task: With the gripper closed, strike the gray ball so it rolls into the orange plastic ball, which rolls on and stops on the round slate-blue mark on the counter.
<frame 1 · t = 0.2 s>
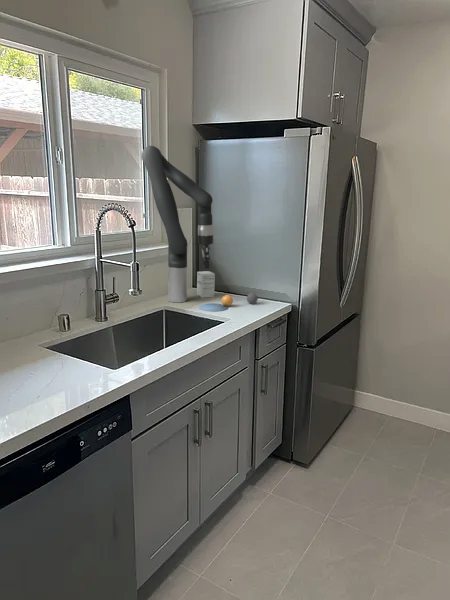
hand: (206, 266, 230), 17 cm above the worktop, tool pointing down, fingers open, 8 cm apart
gray ball: (252, 298, 230), on the worktop
orange ball: (227, 300, 224), on the worktop
blue mark: (213, 307, 221), on the worktop
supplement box: (205, 296, 244), on the worktop
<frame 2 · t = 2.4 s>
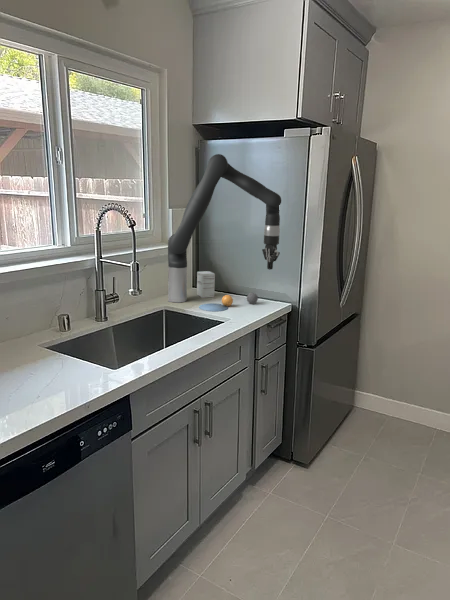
hand: (269, 269, 231), 17 cm above the worktop, tool pointing down, fingers closed
nothing on the worktop moved.
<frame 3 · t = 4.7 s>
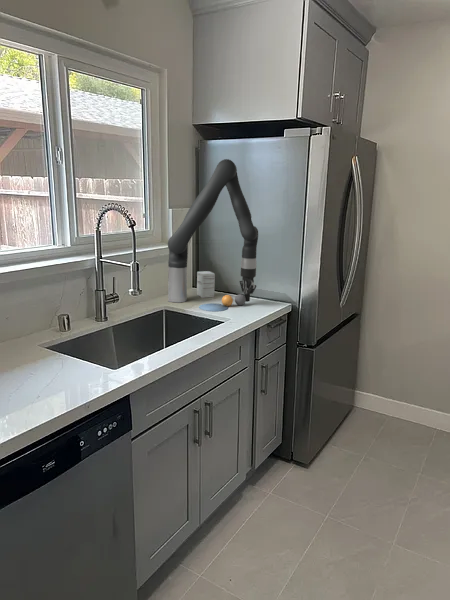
hand: (246, 301, 229), 1 cm above the worktop, tool pointing down, fingers closed
gray ball: (240, 299, 226), on the worktop
everything else where it was.
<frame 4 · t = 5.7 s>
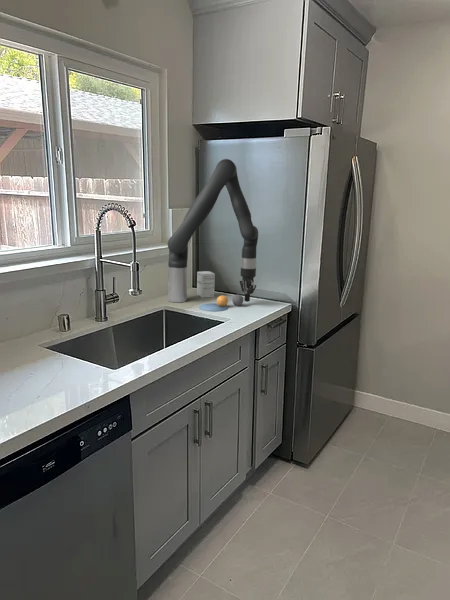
hand: (246, 301, 229), 2 cm above the worktop, tool pointing down, fingers closed
gray ball: (237, 300, 225), on the worktop
orange ball: (222, 301, 223), on the worktop
everything else where it was.
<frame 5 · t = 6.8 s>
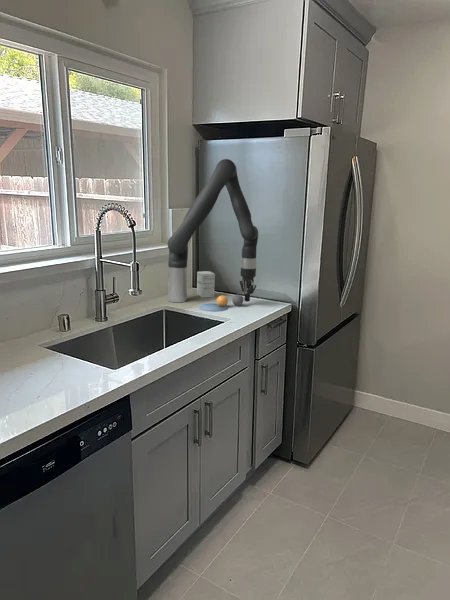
hand: (246, 301, 229), 2 cm above the worktop, tool pointing down, fingers closed
nothing on the worktop moved.
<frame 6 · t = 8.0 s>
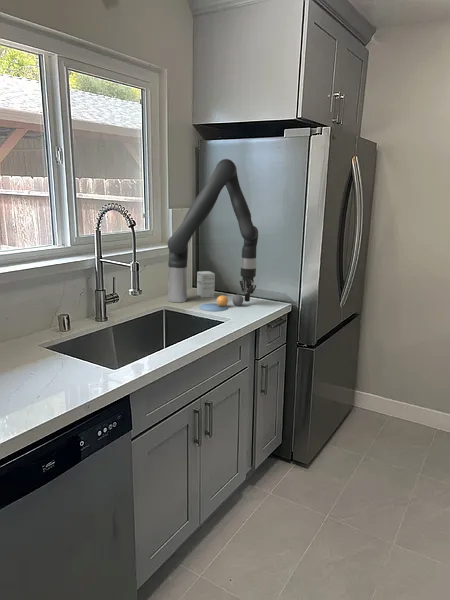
hand: (246, 301, 229), 2 cm above the worktop, tool pointing down, fingers closed
nothing on the worktop moved.
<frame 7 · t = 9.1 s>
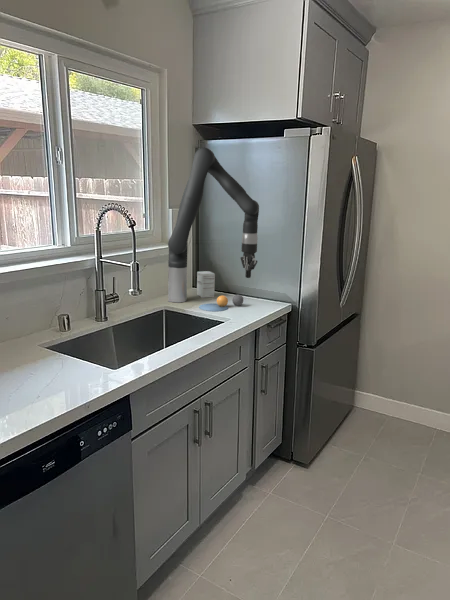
hand: (247, 277, 226), 13 cm above the worktop, tool pointing down, fingers closed
nothing on the worktop moved.
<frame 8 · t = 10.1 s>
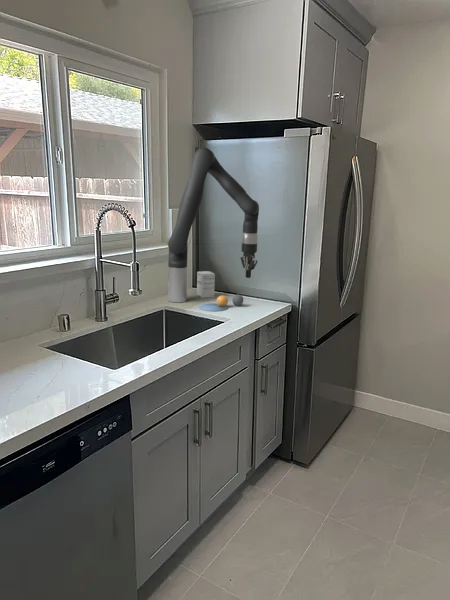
hand: (248, 277, 226), 13 cm above the worktop, tool pointing down, fingers closed
nothing on the worktop moved.
at the end: orange ball 4.7 cm from the blue mark (horizontally); orange ball never touched the robot; gray ball first touched orange ball at 4.8 s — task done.
